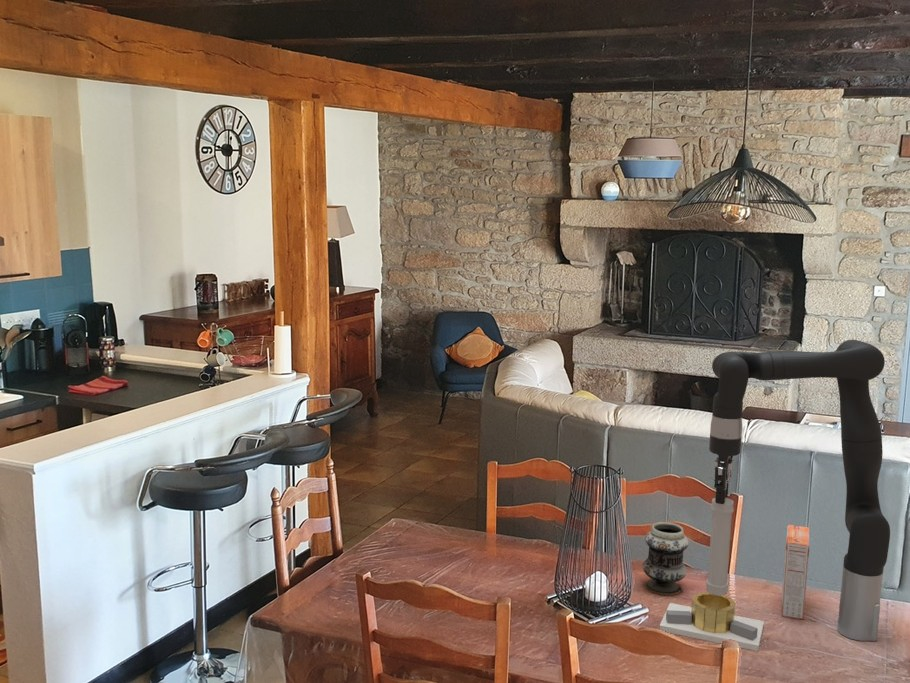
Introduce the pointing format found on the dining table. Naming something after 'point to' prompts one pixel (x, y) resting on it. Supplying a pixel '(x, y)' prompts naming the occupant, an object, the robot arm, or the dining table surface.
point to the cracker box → (795, 572)
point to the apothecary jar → (665, 558)
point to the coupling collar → (712, 612)
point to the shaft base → (740, 631)
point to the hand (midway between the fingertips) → (721, 499)
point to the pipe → (719, 547)
